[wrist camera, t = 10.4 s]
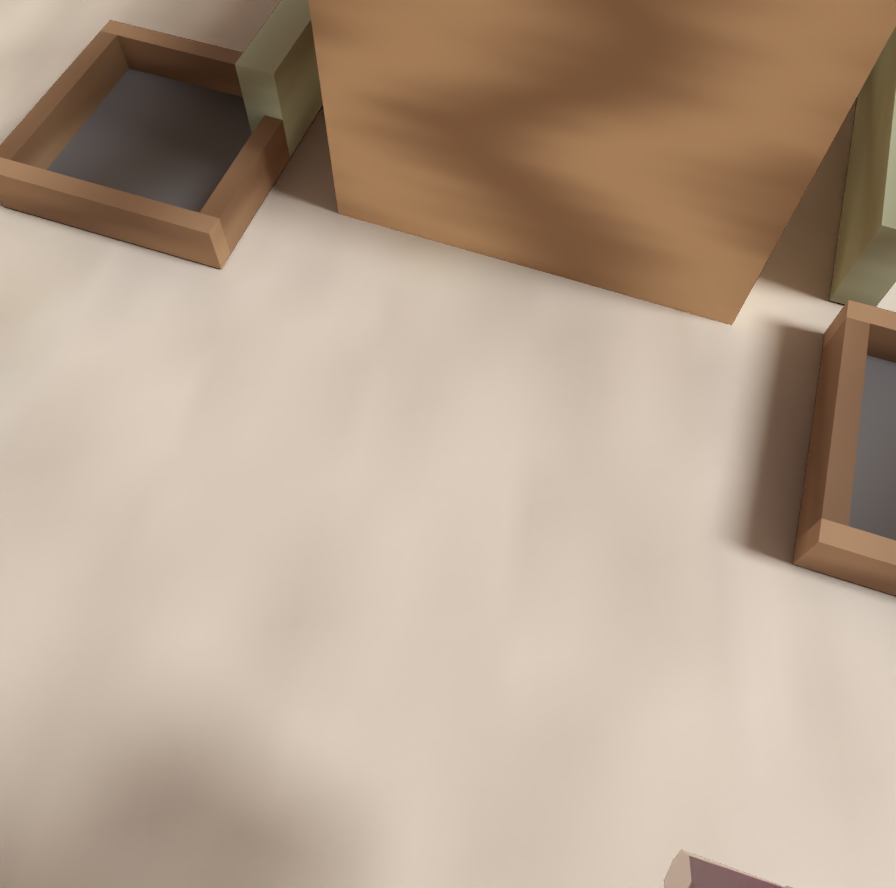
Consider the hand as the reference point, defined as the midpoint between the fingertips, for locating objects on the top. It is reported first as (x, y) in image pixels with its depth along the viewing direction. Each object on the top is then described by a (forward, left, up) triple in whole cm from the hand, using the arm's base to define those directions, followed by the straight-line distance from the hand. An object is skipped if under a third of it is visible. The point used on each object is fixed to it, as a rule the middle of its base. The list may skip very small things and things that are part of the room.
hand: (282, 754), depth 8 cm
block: (0, +17, -6) cm, 19 cm away
